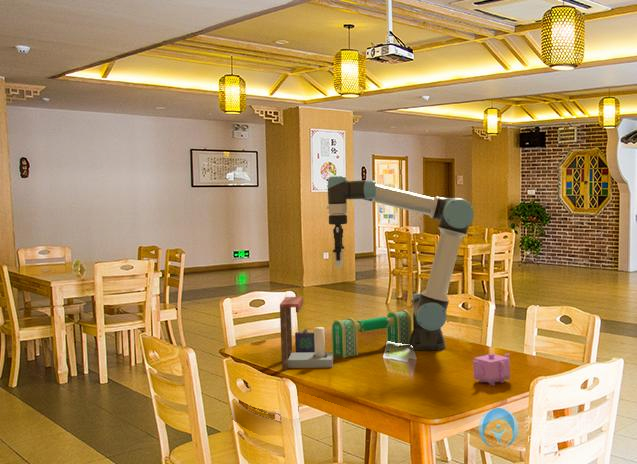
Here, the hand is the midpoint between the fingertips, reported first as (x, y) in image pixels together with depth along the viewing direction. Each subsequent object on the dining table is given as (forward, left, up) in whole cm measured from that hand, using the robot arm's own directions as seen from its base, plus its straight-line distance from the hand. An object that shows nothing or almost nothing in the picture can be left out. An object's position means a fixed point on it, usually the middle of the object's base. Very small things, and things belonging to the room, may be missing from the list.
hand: (339, 266), depth 274 cm
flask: (+15, -5, -37) cm, 40 cm away
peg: (+8, +12, -37) cm, 39 cm away
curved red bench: (+19, +12, -37) cm, 43 cm away
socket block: (+12, +12, -37) cm, 40 cm away
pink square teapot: (-53, +39, -37) cm, 75 cm away
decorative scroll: (-13, -11, -37) cm, 41 cm away
